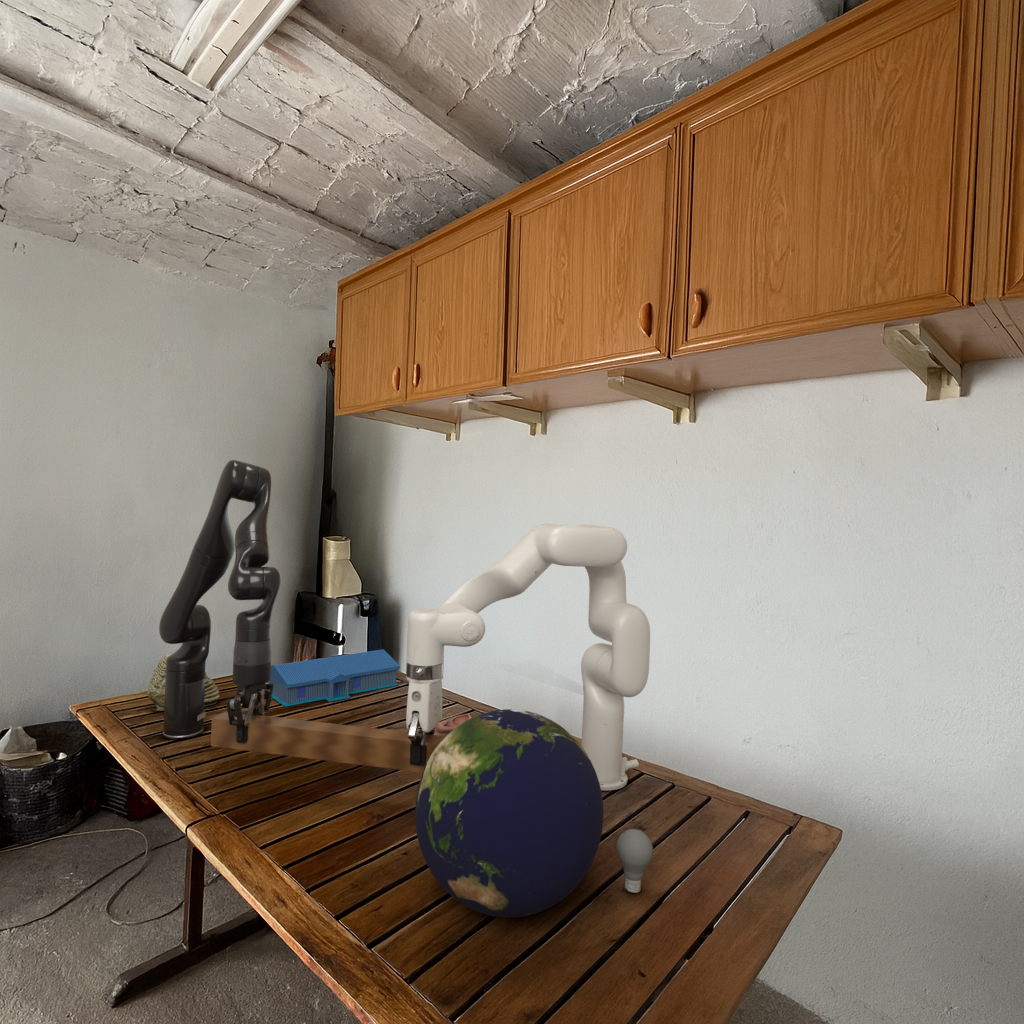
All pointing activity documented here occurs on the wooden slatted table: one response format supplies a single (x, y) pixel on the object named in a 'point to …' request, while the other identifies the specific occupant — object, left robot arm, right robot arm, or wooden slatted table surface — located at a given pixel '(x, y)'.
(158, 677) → the fossil
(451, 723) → the anatomical model
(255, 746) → the post
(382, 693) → the wooden slatted table surface
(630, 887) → the light bulb
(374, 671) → the model building
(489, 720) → the globe
